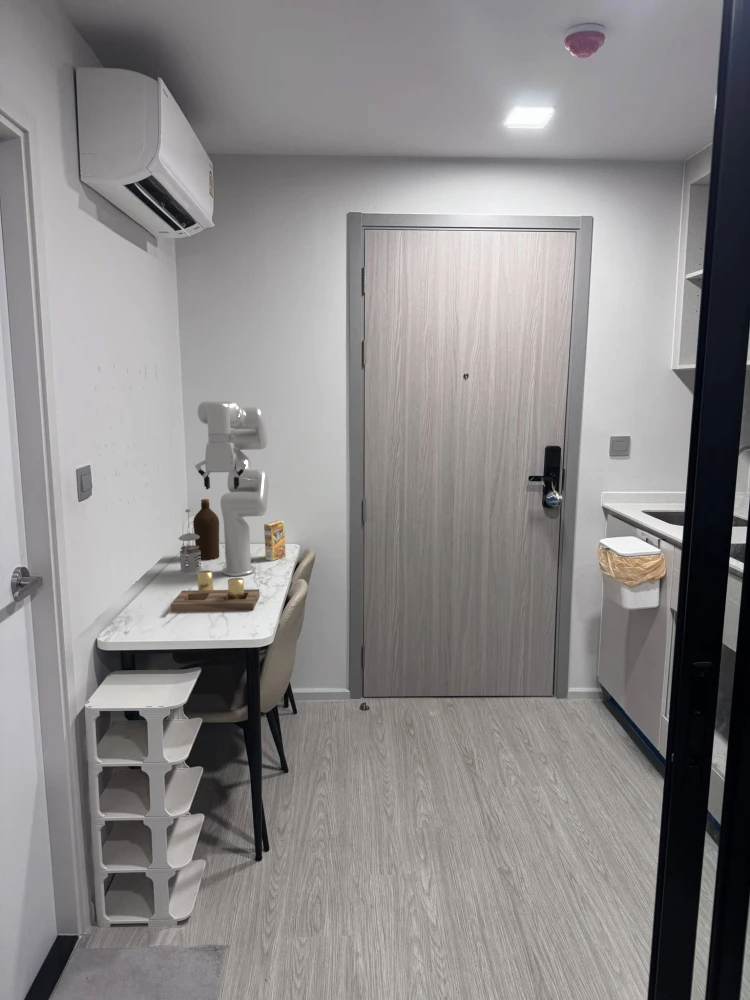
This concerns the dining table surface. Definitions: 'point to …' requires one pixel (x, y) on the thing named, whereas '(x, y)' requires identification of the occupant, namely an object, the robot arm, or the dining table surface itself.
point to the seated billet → (236, 588)
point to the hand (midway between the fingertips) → (222, 488)
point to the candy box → (274, 540)
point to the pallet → (213, 601)
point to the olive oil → (207, 531)
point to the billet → (205, 580)
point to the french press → (190, 554)
